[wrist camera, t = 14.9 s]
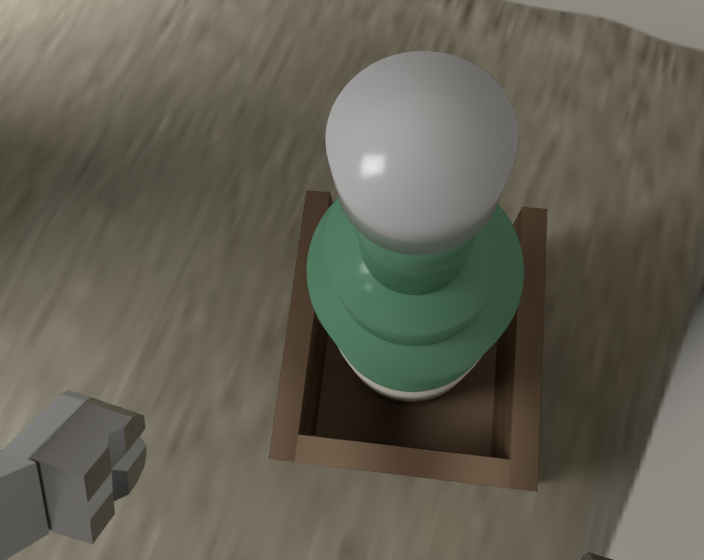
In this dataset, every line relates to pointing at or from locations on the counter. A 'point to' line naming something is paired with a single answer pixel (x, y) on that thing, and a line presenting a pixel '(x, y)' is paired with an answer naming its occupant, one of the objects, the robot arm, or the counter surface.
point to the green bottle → (417, 224)
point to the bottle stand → (426, 419)
